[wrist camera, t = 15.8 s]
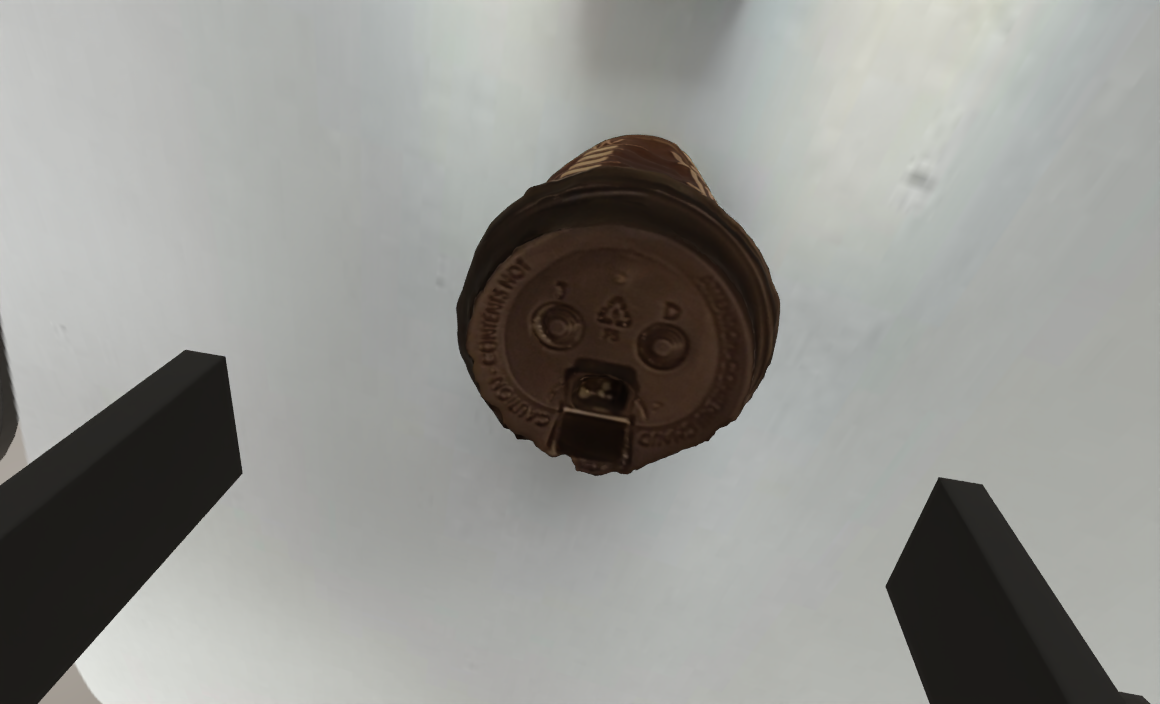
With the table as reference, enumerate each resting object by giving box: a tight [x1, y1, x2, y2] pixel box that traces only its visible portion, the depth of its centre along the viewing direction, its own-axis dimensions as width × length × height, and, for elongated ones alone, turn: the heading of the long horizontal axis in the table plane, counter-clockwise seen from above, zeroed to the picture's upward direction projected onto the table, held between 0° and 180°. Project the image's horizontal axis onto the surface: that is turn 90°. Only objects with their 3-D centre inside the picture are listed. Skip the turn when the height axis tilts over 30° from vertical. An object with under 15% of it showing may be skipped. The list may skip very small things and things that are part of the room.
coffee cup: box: [456, 135, 780, 476], centre depth 22 cm, size 9×8×13 cm
